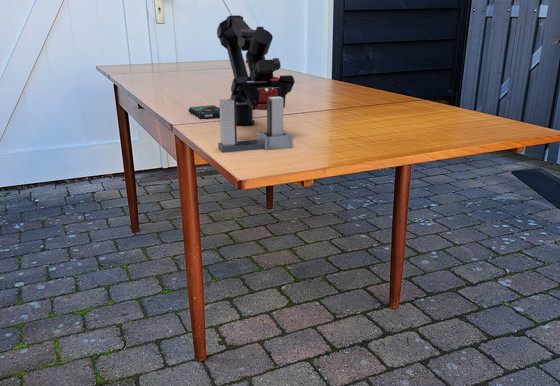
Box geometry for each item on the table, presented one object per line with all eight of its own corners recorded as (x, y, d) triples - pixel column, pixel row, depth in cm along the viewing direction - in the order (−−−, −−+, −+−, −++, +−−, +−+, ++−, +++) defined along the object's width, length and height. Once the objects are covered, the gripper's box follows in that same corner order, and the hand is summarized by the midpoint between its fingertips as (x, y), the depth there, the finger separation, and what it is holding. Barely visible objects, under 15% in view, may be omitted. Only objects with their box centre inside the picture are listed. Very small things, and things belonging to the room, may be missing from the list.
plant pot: (276, 110, 208) (276, 79, 204) (243, 109, 211) (243, 78, 207) (283, 105, 220) (283, 75, 216) (252, 103, 223) (251, 74, 219)
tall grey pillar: (266, 139, 158) (266, 97, 153) (279, 138, 159) (279, 96, 155) (270, 142, 155) (270, 98, 151) (283, 141, 156) (283, 98, 152)
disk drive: (228, 119, 196) (213, 111, 208) (228, 111, 195) (213, 104, 207) (201, 121, 191) (188, 113, 204) (200, 113, 191) (187, 106, 203)
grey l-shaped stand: (217, 146, 155) (215, 98, 151) (284, 141, 162) (284, 94, 157) (223, 153, 149) (222, 102, 144) (292, 147, 155) (293, 99, 151)
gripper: (232, 49, 155) (243, 93, 149) (293, 47, 161) (306, 90, 155) (226, 73, 165) (236, 116, 159) (283, 71, 170) (295, 112, 164)
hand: (269, 108), depth 159 cm, fingers open, 9 cm apart
